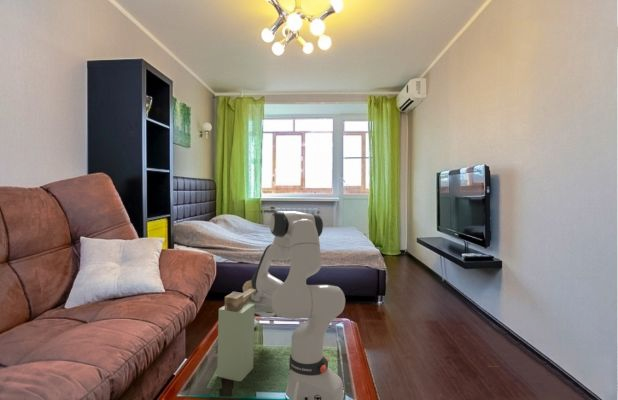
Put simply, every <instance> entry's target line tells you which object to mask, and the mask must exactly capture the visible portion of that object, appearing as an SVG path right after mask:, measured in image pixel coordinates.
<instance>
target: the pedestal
mask: <svg viewBox="0 0 618 400" xmlns="http://www.w3.org/2000/svg"><path fill="white" fill-rule="evenodd" d="M255 314H256V313H255V304H251V303H246V304H245V305H243V308H242V309H240V310H239V311H237V312H233V311H227V310H225V305H223V306H221V307H219V308H218V319H217V320H218V323H217V325H218V326H217V331H218V332H217V362H216V363H217V365H216V367H217V370H216V371H217V374H216V375H217V377H218V378H222V379H226V380H231V381H235V382H239V381H241V382H242V381H243V380H244V379H245V378H246V377H247V375H248V374H250V373H251V371H252V370H253V369H254V354H255V353H254V351H255V349H254V348H255V347H254V345H255V328H254V319H255V316H256V315H255Z"/></svg>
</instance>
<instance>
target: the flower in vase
mask: <svg viewBox="0 0 618 400" xmlns="http://www.w3.org/2000/svg"><path fill="white" fill-rule="evenodd" d="M251 281H252V279H250V280H247V281H245V283H243V286H242V291H243V292H242V293H244V292H245V291H247V290H249V289H253V288H252V284H251ZM258 324H259V323H258V320H257V319H256V318H254V329H256V328H257V326H258Z"/></svg>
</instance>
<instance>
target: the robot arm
mask: <svg viewBox="0 0 618 400" xmlns="http://www.w3.org/2000/svg"><path fill="white" fill-rule="evenodd" d="M323 223H324V222H323V219H322V218H321V216H320V215H318V214H315V213H307V212H301V211H295V210H292V211H291V210H289V211H288V210H287V211H286V210H285V211H284V210H278V211H274V212H273V213H272V215H271V217H270V219H269V229H270V233H271V234H272V235H273V236H274V238H273V242H272V243H270V244H269V245H267V247H266V248H265V249H264V250H263V254H262V256H261V258H260V260H259V263H258V266H257V268H256V271H255V272H254V274H253V276H252V278H251V280H252V281H251V284H252V288H253V289H255V290H256V295H252V294H250V297H249V299H251V300H250V301H249V302H247V303H251V304H255V314H256V315H259V316H260V317H263V318H265V319H266V318H267V319H270V318H273V317H274V316H276V317H278V318H282V319H283V318H284V319H289V320H296V319H307V320H306V321H304V322H305V323H304V322H303V323H304V324H303V323H302V324H300V325H299V326H297V327H296V328H295V330H293V332H292V335H291V345H290V346H291V347H290V348H291V349H290V354H289V360H288V366H289V367H288V368H289V376H288V382H287V385H286V386H287V387H286V390H285V392H286V395H287V396H288V397H289V398H290V399H291V400H343V398H344V390H343V389H344V384H343V380H342V378H341V377H340V376H339V375H338V374H337V373H335V372H334V371H333V369H331V368H330V367H329V359H330V358H329V357H327V358H326V357H325V356H324V353H323V352H324V341H325V336H326V332H327V330H328V327H330V324H331V323H332V322H333V321H334V320H335V319H336V318H337V317H338V316H339V315H341V314H342V313H343V312H344V309H345V306H346V297H345V296H346V295H345V293H344V291H343V290H342V289H341V288H340V287H339V286H337V285H332V284H307V279H308V278H310V277H311V276H314V275H315V274H317V273H318V272H319V271H320V269H321V268H322V255H321V253H322V252H321V244H320V236H321V235H322V233H323V229H324V224H323ZM287 260H290V263H289V264H290V266H289V270H288V271H289V272H288V275H287V278H286V279H285V280H284V282H283V281H282V280H281V279H279V278H277V277H276V276H274V275H272V274H271V273H270V272H269V269H270V266H271V263H272V261H287ZM231 293H236V294H242V293H243V292H238V291H232V292H231Z"/></svg>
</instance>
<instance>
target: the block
mask: <svg viewBox="0 0 618 400" xmlns="http://www.w3.org/2000/svg"><path fill="white" fill-rule="evenodd" d="M256 292H257V291H256V290H255V289H249V290H247V291H245V292H244V293H243V292H241V293H242V294H236V293H232V292H231V293H229V294H227V295H226V296H224V306H225V310H227V311H233V312H237V311H239V310H240V309H242V308H243V305H245V304H246V303H247V302H249V301H250V300H251V299H249V297H250V294H252V295H256Z"/></svg>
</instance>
